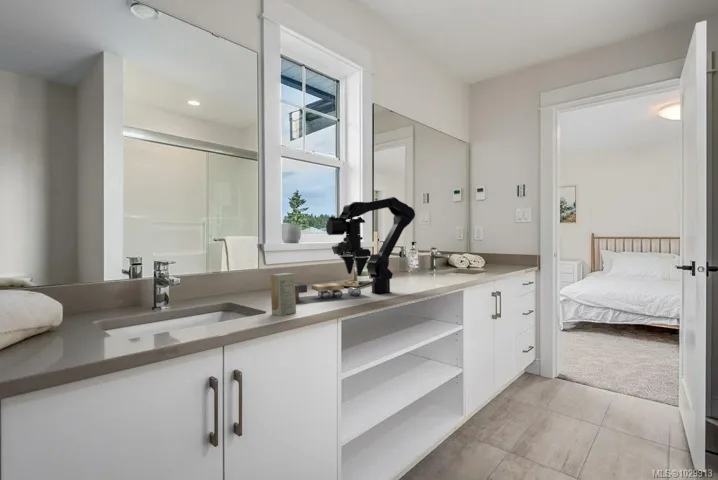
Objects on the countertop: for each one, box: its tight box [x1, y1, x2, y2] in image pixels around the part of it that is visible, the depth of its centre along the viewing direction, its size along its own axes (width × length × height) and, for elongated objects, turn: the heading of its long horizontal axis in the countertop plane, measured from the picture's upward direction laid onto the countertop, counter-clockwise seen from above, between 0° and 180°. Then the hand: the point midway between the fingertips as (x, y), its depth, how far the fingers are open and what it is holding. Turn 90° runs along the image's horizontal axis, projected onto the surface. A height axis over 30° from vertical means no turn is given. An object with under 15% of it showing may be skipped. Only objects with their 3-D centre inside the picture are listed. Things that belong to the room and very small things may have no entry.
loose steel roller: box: [347, 286, 362, 296], centre depth 146 cm, size 3×6×3 cm, turn 25°
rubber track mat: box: [296, 292, 372, 306], centre depth 141 cm, size 30×16×1 cm, turn 115°
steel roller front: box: [317, 291, 331, 299], centre depth 140 cm, size 3×6×3 cm
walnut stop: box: [295, 281, 308, 303], centre depth 136 cm, size 6×10×6 cm, turn 25°
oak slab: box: [311, 282, 345, 292], centre depth 141 cm, size 10×8×2 cm
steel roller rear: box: [329, 290, 343, 298], centre depth 142 cm, size 3×6×3 cm, turn 24°
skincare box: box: [270, 272, 297, 317], centre depth 114 cm, size 6×4×12 cm
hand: (354, 274), depth 146 cm, fingers open, 9 cm apart
